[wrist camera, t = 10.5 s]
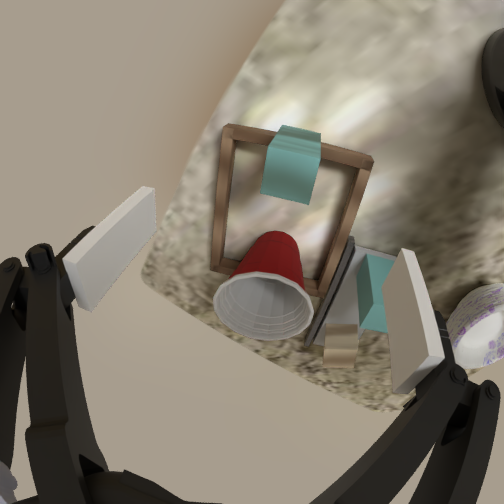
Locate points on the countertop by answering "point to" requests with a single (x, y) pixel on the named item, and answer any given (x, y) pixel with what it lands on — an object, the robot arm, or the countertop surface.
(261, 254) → the plastic cup
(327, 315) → the sled
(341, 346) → the beech cube
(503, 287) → the paper bowls
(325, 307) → the divider rail
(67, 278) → the robot arm
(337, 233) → the frame
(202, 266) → the countertop surface
